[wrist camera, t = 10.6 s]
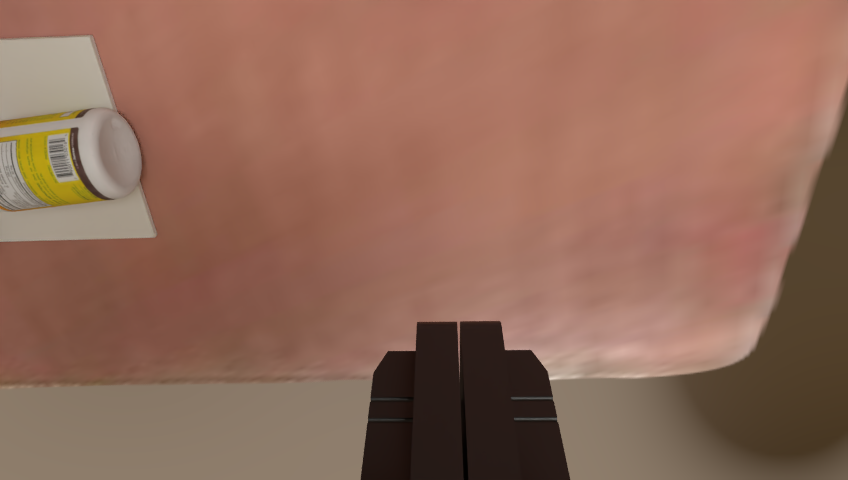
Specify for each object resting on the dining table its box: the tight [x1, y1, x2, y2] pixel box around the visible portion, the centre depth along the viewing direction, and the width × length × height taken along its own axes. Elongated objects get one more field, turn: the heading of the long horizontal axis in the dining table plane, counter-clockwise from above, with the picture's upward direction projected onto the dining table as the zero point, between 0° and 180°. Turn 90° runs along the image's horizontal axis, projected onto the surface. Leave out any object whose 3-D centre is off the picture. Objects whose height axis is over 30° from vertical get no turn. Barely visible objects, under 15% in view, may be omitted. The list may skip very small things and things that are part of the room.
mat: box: [0, 35, 157, 242], centre depth 39 cm, size 14×13×3 cm
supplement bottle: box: [0, 108, 142, 212], centre depth 37 cm, size 6×6×10 cm
